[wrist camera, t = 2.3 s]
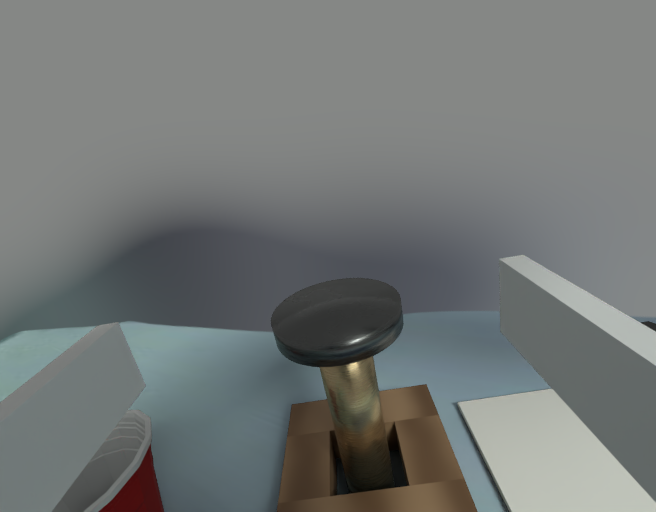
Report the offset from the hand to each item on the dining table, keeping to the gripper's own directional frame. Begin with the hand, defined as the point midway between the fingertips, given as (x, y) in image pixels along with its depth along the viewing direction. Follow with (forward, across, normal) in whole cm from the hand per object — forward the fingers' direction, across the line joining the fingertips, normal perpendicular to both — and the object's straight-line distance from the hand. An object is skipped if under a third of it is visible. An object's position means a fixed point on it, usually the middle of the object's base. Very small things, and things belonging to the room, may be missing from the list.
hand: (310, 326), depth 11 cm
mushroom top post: (+11, 0, -22) cm, 25 cm away
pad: (+11, +17, -22) cm, 30 cm away
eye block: (+11, 0, -22) cm, 25 cm away
